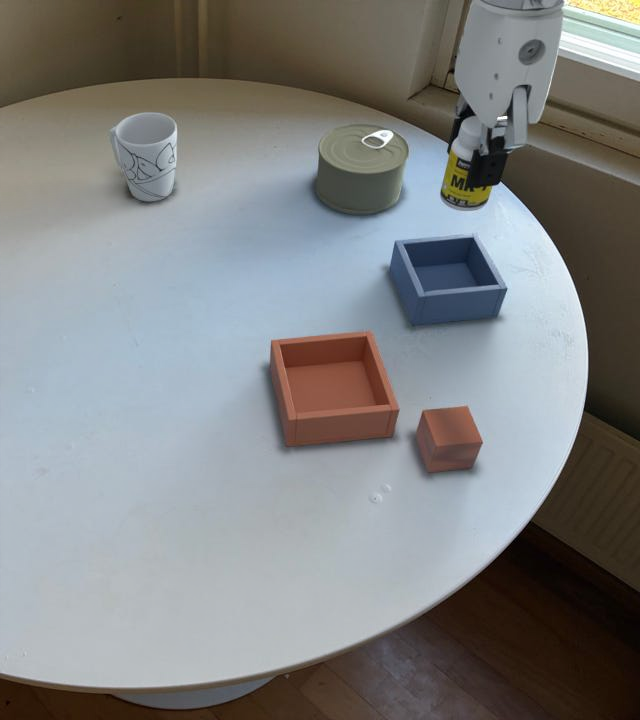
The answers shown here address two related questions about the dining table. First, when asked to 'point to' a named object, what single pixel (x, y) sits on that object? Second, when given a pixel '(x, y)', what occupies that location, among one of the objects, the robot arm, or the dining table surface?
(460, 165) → the supplement bottle
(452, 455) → the block
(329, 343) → the terracotta bin
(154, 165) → the mug
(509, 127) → the robot arm
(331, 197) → the can
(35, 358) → the dining table surface
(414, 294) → the blue bin
